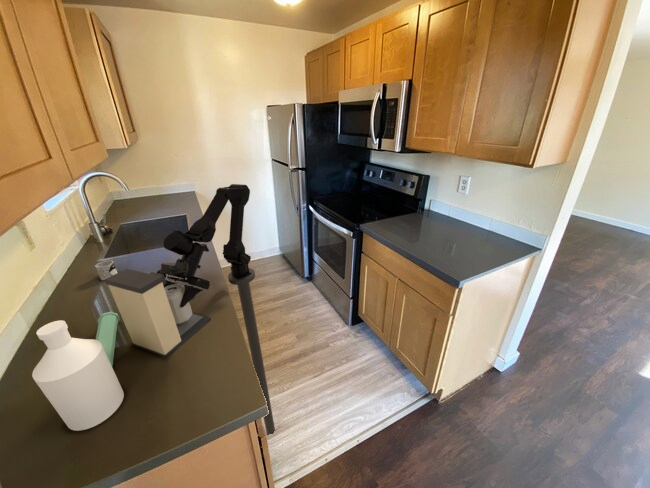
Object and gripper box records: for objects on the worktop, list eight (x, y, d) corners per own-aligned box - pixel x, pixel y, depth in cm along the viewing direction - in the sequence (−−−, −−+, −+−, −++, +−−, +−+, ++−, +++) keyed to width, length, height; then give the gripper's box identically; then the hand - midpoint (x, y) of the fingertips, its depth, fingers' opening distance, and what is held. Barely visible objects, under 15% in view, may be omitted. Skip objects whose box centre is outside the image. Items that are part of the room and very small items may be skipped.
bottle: (68, 443, 60) (10, 359, 50) (62, 408, 68) (10, 329, 57) (130, 405, 68) (91, 325, 58) (118, 377, 75) (82, 303, 65)
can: (193, 309, 98) (185, 280, 93) (192, 322, 91) (183, 292, 86) (170, 314, 95) (160, 285, 90) (167, 328, 89) (156, 297, 84)
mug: (115, 278, 125) (110, 265, 122) (98, 281, 123) (92, 268, 120) (122, 268, 134) (117, 256, 131) (106, 271, 132) (101, 258, 129)
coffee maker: (179, 310, 101) (161, 251, 91) (211, 320, 96) (195, 258, 86) (132, 345, 86) (103, 279, 76) (166, 358, 81) (140, 289, 71)
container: (102, 358, 74) (110, 308, 93) (80, 373, 72) (93, 319, 92) (119, 368, 77) (123, 318, 97) (98, 383, 76) (107, 329, 95)
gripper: (151, 247, 90) (130, 294, 85) (194, 255, 83) (174, 306, 79) (177, 258, 100) (159, 300, 95) (218, 266, 93) (201, 312, 89)
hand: (172, 304), depth 89 cm, fingers closed on can, 7 cm apart
